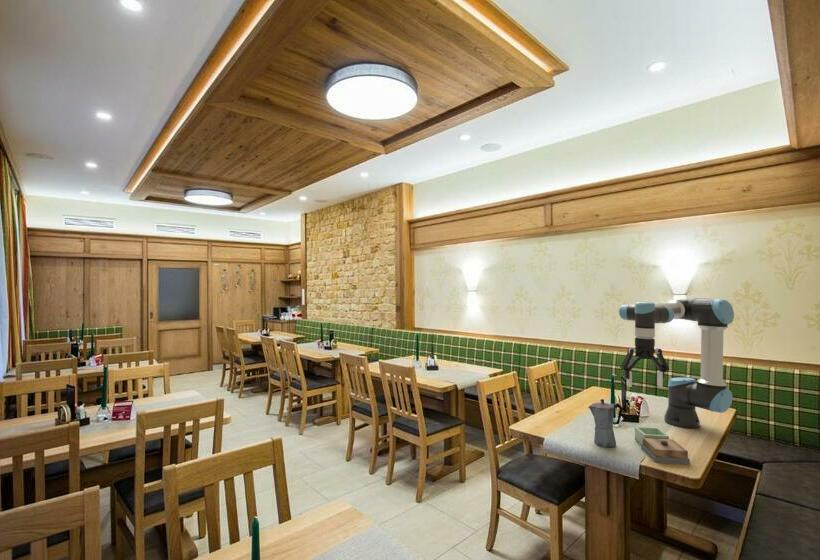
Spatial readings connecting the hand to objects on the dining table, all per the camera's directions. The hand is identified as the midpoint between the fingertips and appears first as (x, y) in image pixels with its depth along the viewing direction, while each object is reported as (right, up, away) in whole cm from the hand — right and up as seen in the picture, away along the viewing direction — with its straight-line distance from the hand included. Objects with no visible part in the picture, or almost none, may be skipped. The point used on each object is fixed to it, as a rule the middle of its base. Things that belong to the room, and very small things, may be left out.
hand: (644, 386), depth 174 cm
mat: (+4, -27, -7) cm, 28 cm away
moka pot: (-14, -27, +5) cm, 31 cm away
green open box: (+6, -27, +4) cm, 28 cm away
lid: (+4, -25, -7) cm, 27 cm away
